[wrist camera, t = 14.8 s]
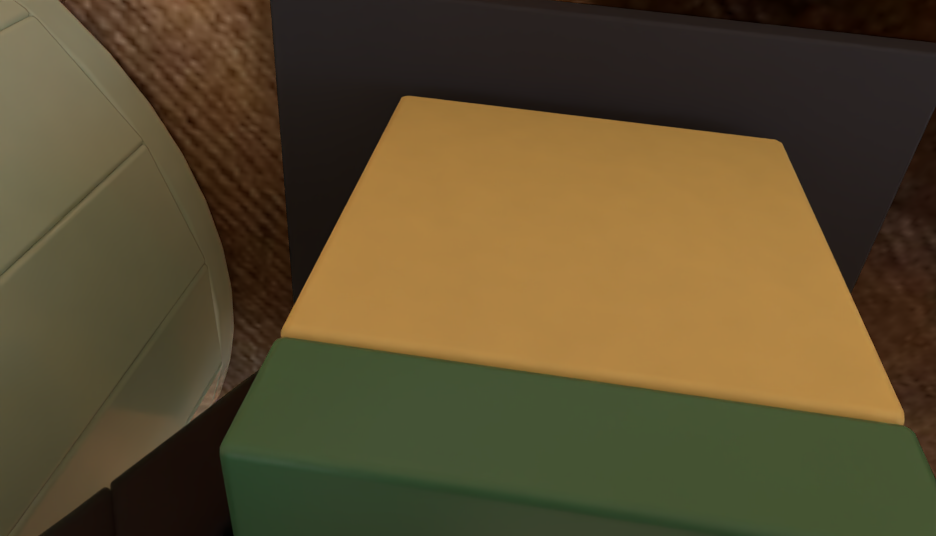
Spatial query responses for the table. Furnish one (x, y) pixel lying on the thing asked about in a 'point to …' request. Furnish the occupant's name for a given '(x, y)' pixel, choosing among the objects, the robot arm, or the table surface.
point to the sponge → (573, 348)
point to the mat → (598, 94)
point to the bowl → (94, 272)
